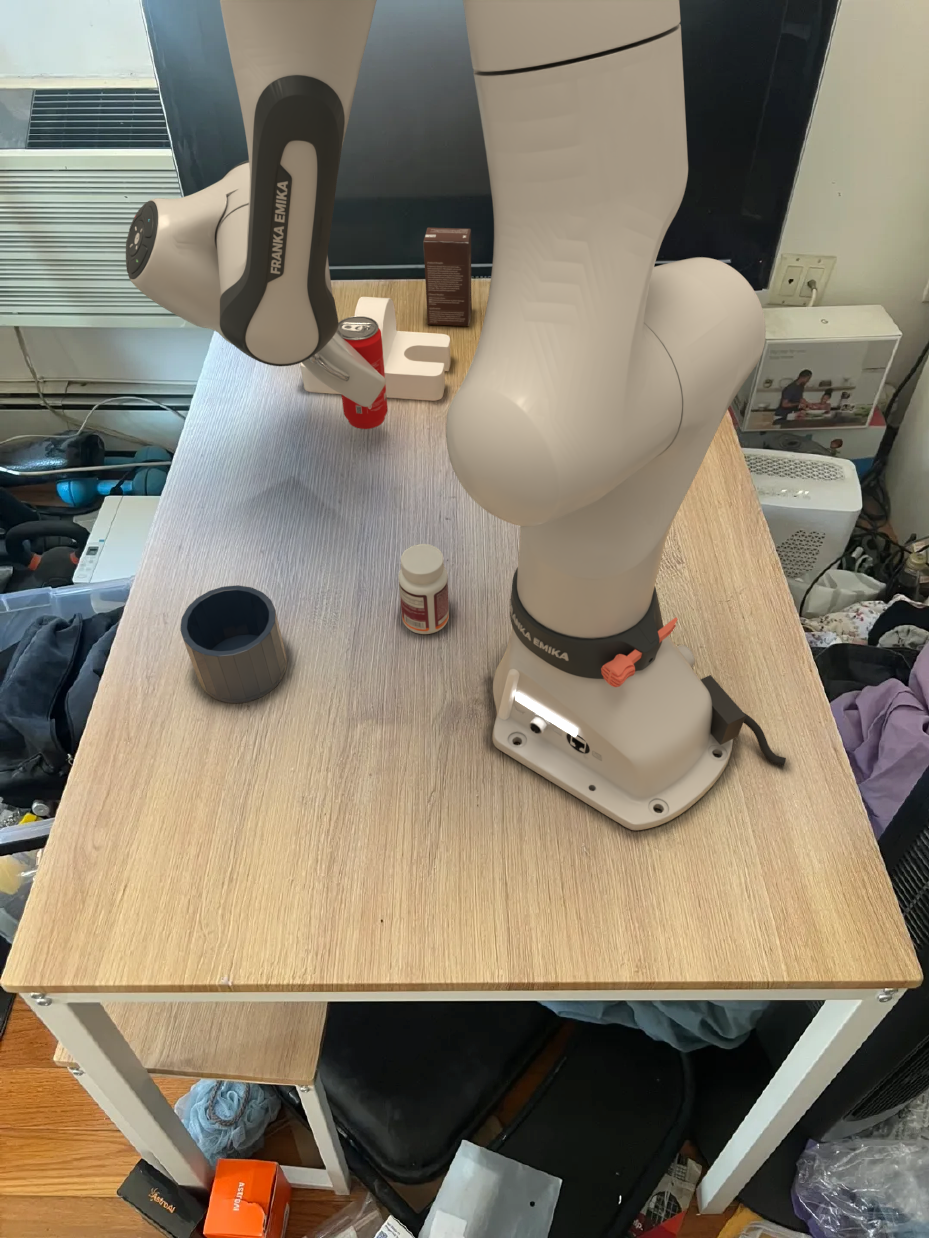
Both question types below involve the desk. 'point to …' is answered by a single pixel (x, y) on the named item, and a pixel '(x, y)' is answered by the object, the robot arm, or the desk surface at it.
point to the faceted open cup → (234, 643)
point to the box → (448, 276)
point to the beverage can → (369, 346)
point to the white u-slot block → (400, 356)
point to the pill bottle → (423, 589)
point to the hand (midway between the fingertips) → (366, 370)
